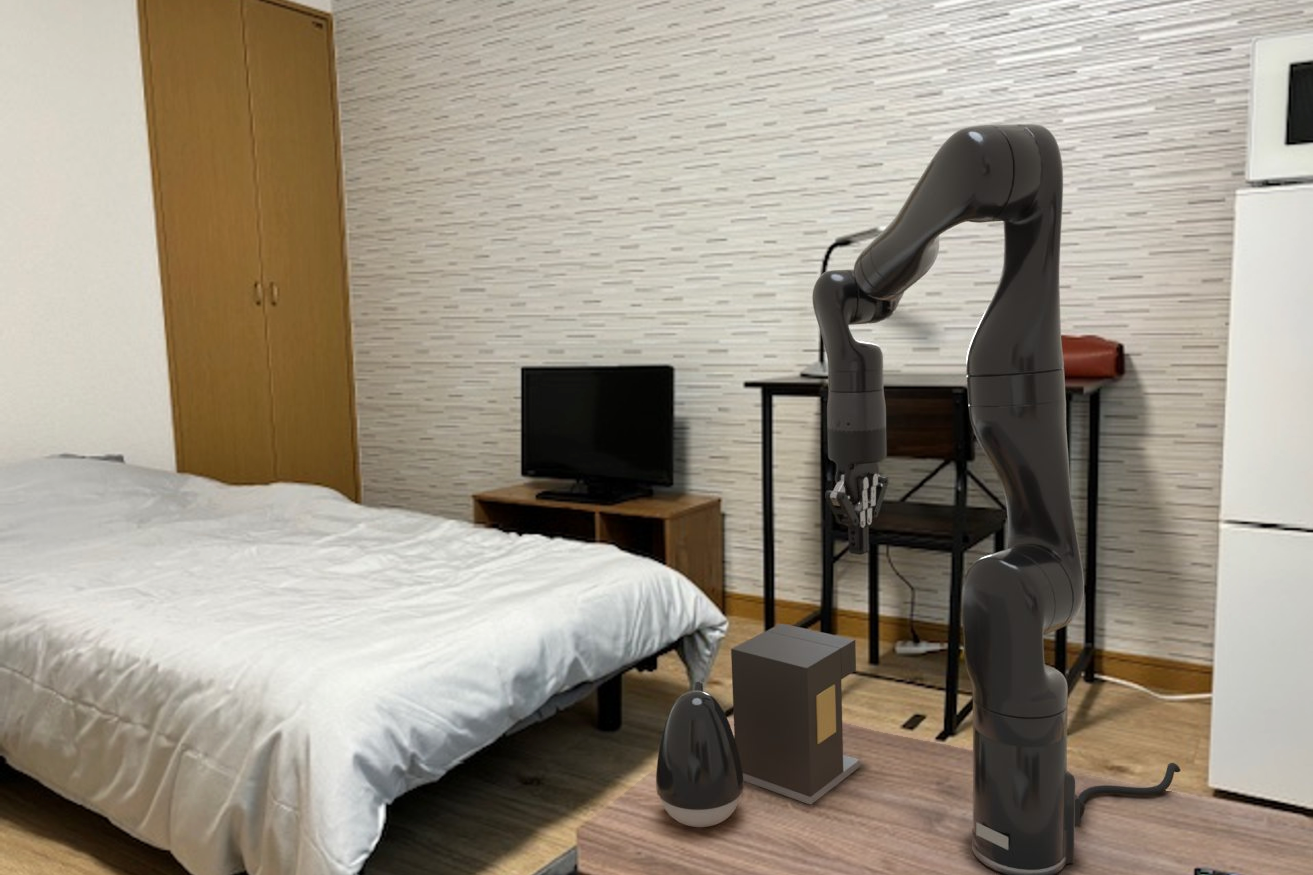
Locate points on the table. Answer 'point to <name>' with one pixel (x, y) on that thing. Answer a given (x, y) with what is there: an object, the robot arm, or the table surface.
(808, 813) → the table surface
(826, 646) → the box
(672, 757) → the pump dispenser
